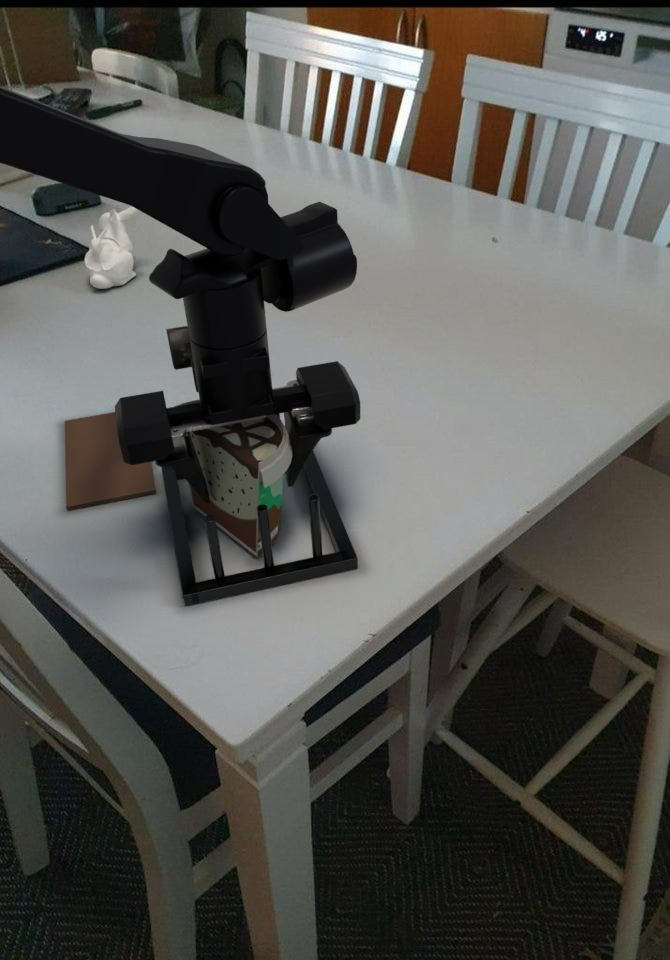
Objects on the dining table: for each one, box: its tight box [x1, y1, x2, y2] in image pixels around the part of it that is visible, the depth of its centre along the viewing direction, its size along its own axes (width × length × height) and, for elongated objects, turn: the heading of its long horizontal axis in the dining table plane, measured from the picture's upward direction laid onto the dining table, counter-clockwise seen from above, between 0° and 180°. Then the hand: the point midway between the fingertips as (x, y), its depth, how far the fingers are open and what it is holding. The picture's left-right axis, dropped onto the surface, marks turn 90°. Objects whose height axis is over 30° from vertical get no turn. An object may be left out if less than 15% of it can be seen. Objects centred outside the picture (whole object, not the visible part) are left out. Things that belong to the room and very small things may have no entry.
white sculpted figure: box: [84, 206, 144, 290], centre depth 107 cm, size 12×8×10 cm, turn 167°
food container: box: [173, 399, 292, 558], centre depth 69 cm, size 12×6×10 cm, turn 43°
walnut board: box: [64, 411, 157, 511], centre depth 79 cm, size 8×14×1 cm, turn 15°
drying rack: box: [161, 413, 359, 607], centre depth 69 cm, size 14×17×8 cm
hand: (248, 491), depth 69 cm, fingers closed on food container, 7 cm apart
